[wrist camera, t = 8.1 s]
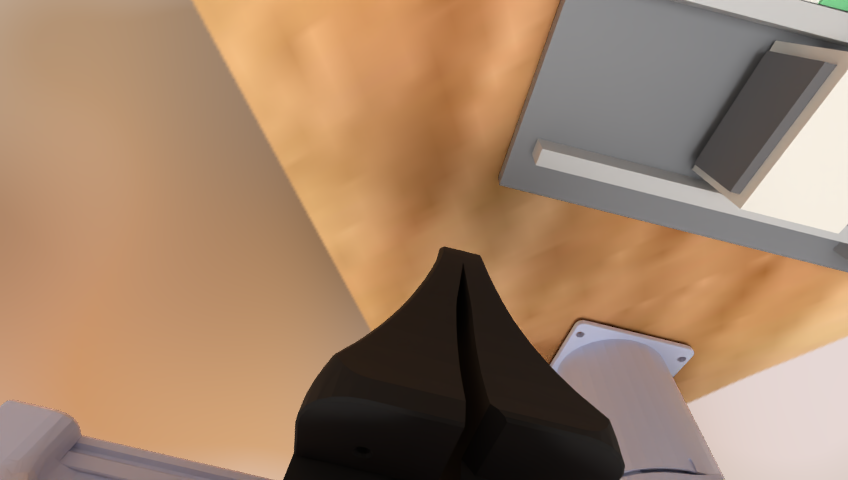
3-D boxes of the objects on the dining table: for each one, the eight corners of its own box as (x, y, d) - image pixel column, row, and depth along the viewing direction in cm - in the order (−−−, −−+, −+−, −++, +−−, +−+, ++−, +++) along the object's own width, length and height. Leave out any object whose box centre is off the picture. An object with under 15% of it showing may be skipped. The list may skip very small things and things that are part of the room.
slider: (772, 190, 18) (838, 233, 15) (683, 167, 18) (730, 206, 15) (943, -24, 14) (1095, -30, 10) (825, -56, 14) (939, -72, 10)
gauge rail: (848, 265, 21) (990, 368, 15) (498, 177, 21) (506, 248, 15) (1105, 21, 15) (1523, 39, 9) (600, -114, 14) (686, -189, 8)
